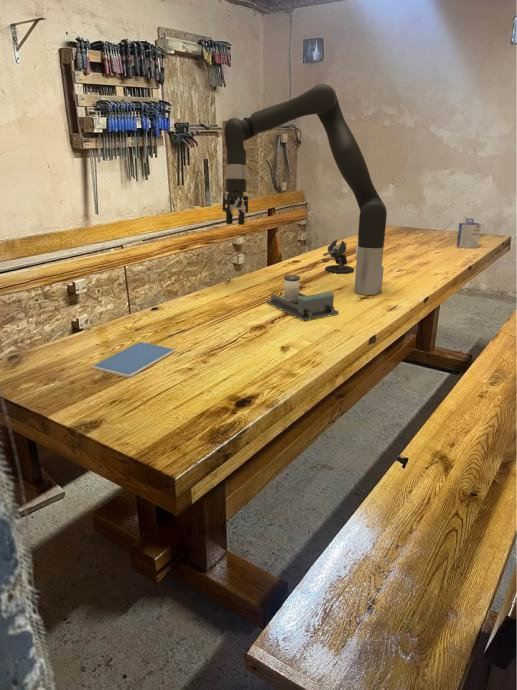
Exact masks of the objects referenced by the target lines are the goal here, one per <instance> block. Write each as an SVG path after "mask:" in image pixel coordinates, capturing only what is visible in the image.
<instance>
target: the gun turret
mask: <svg viewBox="0 0 517 690" xmlns="http://www.w3.org/2000/svg"><path fill="white" fill-rule="evenodd" d="M337 242H338V239H335V240H334V241H332V243H331V244H329V245H328V246H327V252H325V253H323V255H322V256H324V257H326V256H328V255H330V257H331V258H334V261H335V265H334V264H330V265H327V266H325V267H324V271H325V270H326V271H325V272H327V271H328V272H327V273H329V272H332V273H331V274H334V273H336V274H335V275H348V274H353V273H354V272H355V268H354V267H352V266H350V265H347V264H348V259H347V255H346V254H345V253H346V250H347V244H348V243H347V242H344V240H341V242H340V243H338V244H337Z"/></svg>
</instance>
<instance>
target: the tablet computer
mask: <svg viewBox="0 0 517 690" xmlns="http://www.w3.org/2000/svg"><path fill="white" fill-rule="evenodd" d="M174 353H176V350H175V349H174V348H170V347H166V346H161V345H156V344H151V343H147V342H141V341H140V342H137V343H135V344H133V345H131V346H128V347H127V348H125V349H124V350H121V351H119V352H117V353H115V354H113V355H110V357H107V358H105V359H103V360H101V361H99V362H98V363H96V364H93V365H92V367H91V368H92V369H93V370H95V371H99V372H104V373H107V374H111V375H115V376H118V377H123V378H126V379H130V378H133V377H134V376H136V375H137V374H139V373H141V372H142V371H144V370H146V369H148V368H149V367H151V366H153V365H154V364H156V363H158V362H159V361H161V360H164V358H166V357H169V356H170V355H172V354H174Z"/></svg>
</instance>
